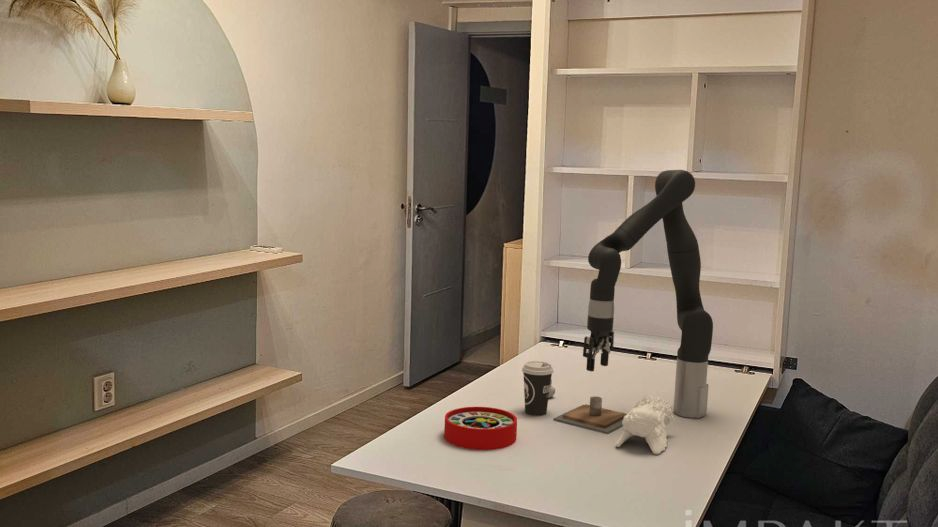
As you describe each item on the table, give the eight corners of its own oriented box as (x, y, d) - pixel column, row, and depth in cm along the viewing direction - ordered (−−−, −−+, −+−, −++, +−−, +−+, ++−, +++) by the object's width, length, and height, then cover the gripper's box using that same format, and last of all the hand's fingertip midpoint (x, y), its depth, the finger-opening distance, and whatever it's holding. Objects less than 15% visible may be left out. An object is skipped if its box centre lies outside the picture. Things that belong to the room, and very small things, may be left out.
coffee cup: (540, 419, 257) (542, 370, 255) (513, 412, 263) (515, 364, 261) (557, 412, 265) (559, 364, 263) (531, 405, 271) (533, 358, 269)
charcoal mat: (635, 418, 261) (636, 417, 261) (607, 434, 246) (607, 431, 246) (583, 406, 271) (583, 404, 271) (553, 420, 257) (553, 418, 257)
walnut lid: (626, 417, 260) (628, 397, 259) (604, 428, 249) (606, 408, 248) (585, 407, 269) (586, 388, 268) (562, 418, 257) (563, 398, 257)
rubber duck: (535, 398, 278) (537, 374, 277) (540, 393, 284) (541, 369, 283) (552, 400, 276) (553, 376, 275) (556, 395, 283) (558, 371, 282)
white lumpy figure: (681, 400, 246) (664, 411, 228) (675, 443, 246) (658, 458, 228) (635, 391, 251) (615, 402, 233) (630, 434, 252) (610, 447, 234)
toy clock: (504, 404, 252) (527, 427, 233) (503, 424, 253) (526, 448, 234) (437, 408, 246) (455, 431, 227) (436, 428, 247) (454, 453, 228)
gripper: (600, 319, 247) (596, 375, 249) (623, 313, 258) (619, 366, 260) (577, 315, 251) (574, 370, 253) (601, 309, 262) (597, 361, 265)
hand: (597, 368), depth 257 cm, fingers open, 8 cm apart
